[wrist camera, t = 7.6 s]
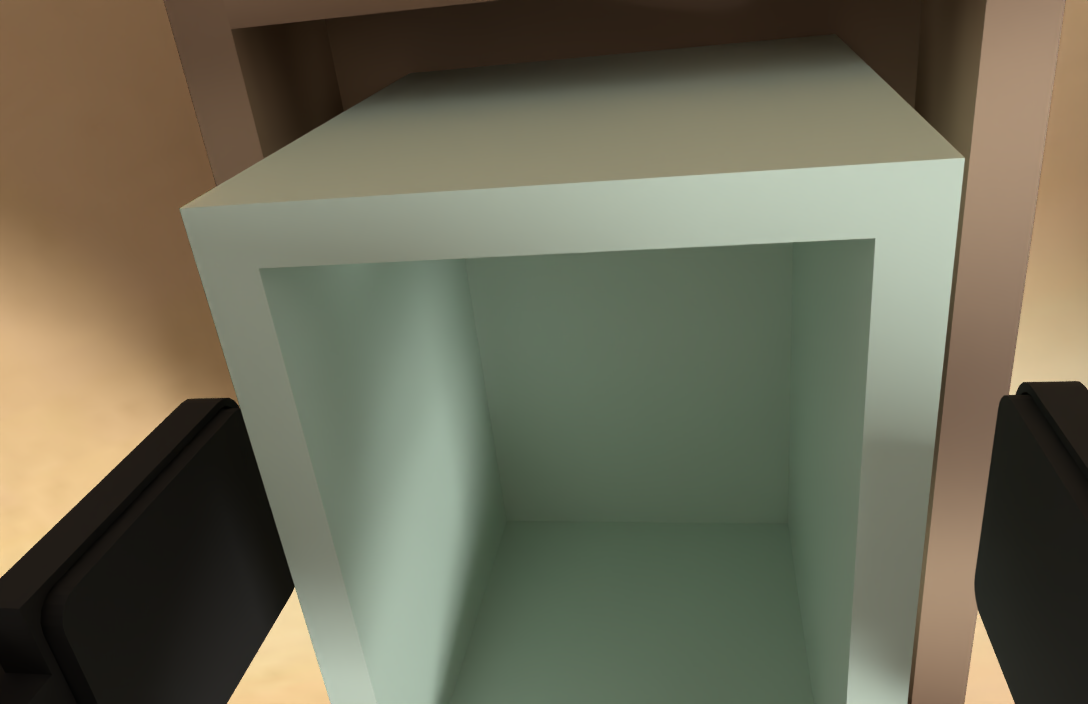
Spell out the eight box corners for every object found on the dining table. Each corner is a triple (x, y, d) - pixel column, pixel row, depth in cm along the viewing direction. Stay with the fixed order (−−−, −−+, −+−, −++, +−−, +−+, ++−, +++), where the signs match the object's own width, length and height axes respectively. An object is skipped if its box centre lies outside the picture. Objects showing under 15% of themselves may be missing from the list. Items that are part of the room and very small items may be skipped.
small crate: (409, 73, 14) (179, 207, 8) (835, 34, 13) (966, 157, 6) (487, 525, 18) (375, 853, 12) (817, 529, 17) (886, 897, 10)
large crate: (282, -48, 14) (154, -33, 11) (979, -135, 12) (1087, -150, 9) (421, 575, 20) (365, 711, 16) (909, 585, 18) (958, 743, 14)
